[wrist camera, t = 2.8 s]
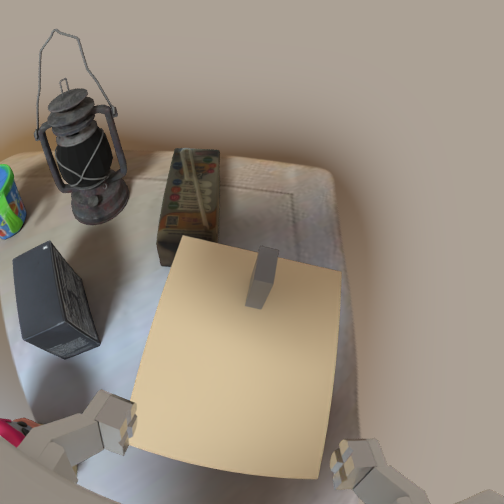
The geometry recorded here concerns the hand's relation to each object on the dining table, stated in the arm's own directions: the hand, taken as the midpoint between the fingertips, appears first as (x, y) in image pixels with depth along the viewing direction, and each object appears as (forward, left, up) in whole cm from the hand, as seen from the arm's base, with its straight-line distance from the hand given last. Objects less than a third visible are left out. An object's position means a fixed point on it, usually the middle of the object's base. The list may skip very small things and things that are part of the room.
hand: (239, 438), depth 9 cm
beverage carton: (+29, -3, -24) cm, 38 cm away
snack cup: (+36, +31, -24) cm, 53 cm away
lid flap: (+5, -3, -14) cm, 15 cm away
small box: (+16, +17, -24) cm, 34 cm away
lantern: (+36, +12, -24) cm, 45 cm away
